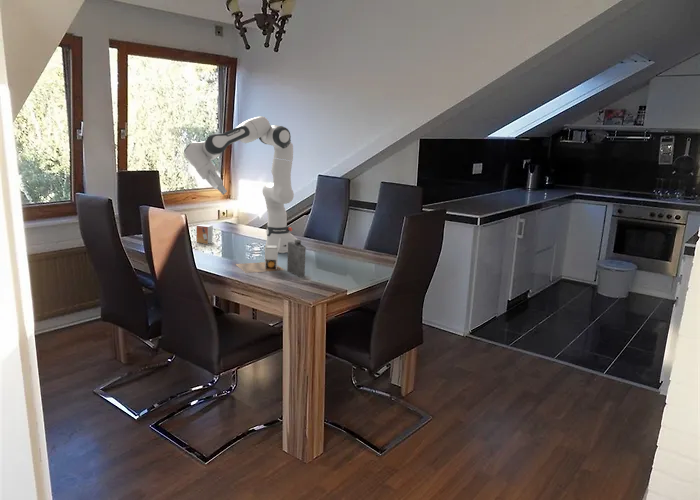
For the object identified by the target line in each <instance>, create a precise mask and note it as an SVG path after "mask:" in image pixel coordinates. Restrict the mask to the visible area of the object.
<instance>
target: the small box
mask: <svg viewBox="0 0 700 500" xmlns="http://www.w3.org/2000/svg"><path fill="white" fill-rule="evenodd" d="M213 226H214V225H209V224H208V225H207V224H198V225H196V232H195V233H196V243H199V244H205V245H209V244H212V243H213V234H214V233H213V231H214V230H213V228H214V227H213ZM211 242H212V243H211ZM208 243H209V244H208Z"/></svg>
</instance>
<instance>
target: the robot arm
mask: <svg viewBox="0 0 700 500" xmlns="http://www.w3.org/2000/svg"><path fill="white" fill-rule="evenodd" d="M291 137H292V136H291V131H290V130H289V128H287V127H286V126H283V125H277V124H273V125H272V124H270V121H269V120H268V118H266V116H262V115H261V116H256V117H253V118H249V119H247V120H245V121H243V122H242V123H240V124H239V125H237V126H236V127H234V128H233V129H230V130H228V131H226V132H223V133H221V132H220V133H211V134H209V135H208V136H207V137H206V140H204V141H200V142H199V141H192V142H190V143H188V145H186V147H185V148H184V151H183V154H184V155H185V157H186V160H187V161H188V162H189V163H190V164H191V166H193V167H194V169H195V171H196V173H198V175H199V176H200V177H201V179H202V180H205V181H207V182H208V184H209V185H210V186H211V187H212V188H213V189H215V190H218V192H220V193H221V194H222V195H225V194H226V193H228V190H227V189H226V187H225V185H224V184H223V183H224V181H223V180H222V178H221V176H219V174H218V172H217V170H218V168H217V167H216V166H215V164H214V163H213V162H212V161H213V160H215V159H217V158H218V157H219V156H220V155H221V154H222V153H223V152H224V151H225V150H226V149H227V148H228V146H230V145H231V144H233V143H236V142H238V141H239V142H241V143H244V144H248V143H252V142H254V141H256V140H258V139H259V141H260V142H261V143H263V144H264V145H269V146H273V148H274V152H273V158H272V163H271V164H272V165H271V170H270V171H271V174H272V180H273V182H269V183H266V184H264V186H263V187H262V195H263V197H264V200H265V204H266V210H267V225H266V231H265V233H266V240H265V245H264V248H263V249H264V251H265V246H266V245H278V254H279V253H280V254H285V253H288V242H295V240H299V239H298V238H297V237H296V236H294V235H293V234H292V233H291V232H292V231H293V227H289V226H287V225H288V224H287V223H288V221H287V220H288V219H287V216H288V212H287V211H286V208H285V205H287V204H290V203H291V202H292V201H293V199H294V197H295V196H294V195H295V194H294V190H293V189H292V179H291V178H292V177H291V176H292V174H291V173H292V167H293V166H292V165H293V160H294V145H293V143H292V142H291V141H292V140H291Z"/></svg>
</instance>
